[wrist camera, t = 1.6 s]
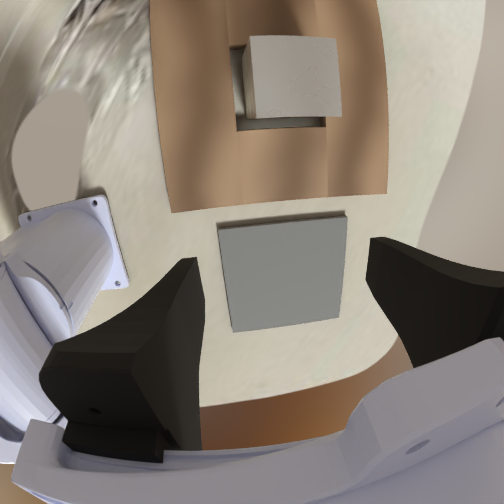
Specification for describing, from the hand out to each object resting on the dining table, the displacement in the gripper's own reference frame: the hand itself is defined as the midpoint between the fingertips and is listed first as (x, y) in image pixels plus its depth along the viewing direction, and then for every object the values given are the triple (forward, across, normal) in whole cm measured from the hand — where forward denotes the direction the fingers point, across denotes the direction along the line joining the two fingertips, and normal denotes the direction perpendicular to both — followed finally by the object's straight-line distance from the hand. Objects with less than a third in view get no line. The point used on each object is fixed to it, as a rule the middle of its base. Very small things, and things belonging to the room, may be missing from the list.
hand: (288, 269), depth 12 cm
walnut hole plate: (+10, -2, -8) cm, 13 cm away
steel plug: (+10, -2, -8) cm, 13 cm away
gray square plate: (+10, -2, +7) cm, 13 cm away
